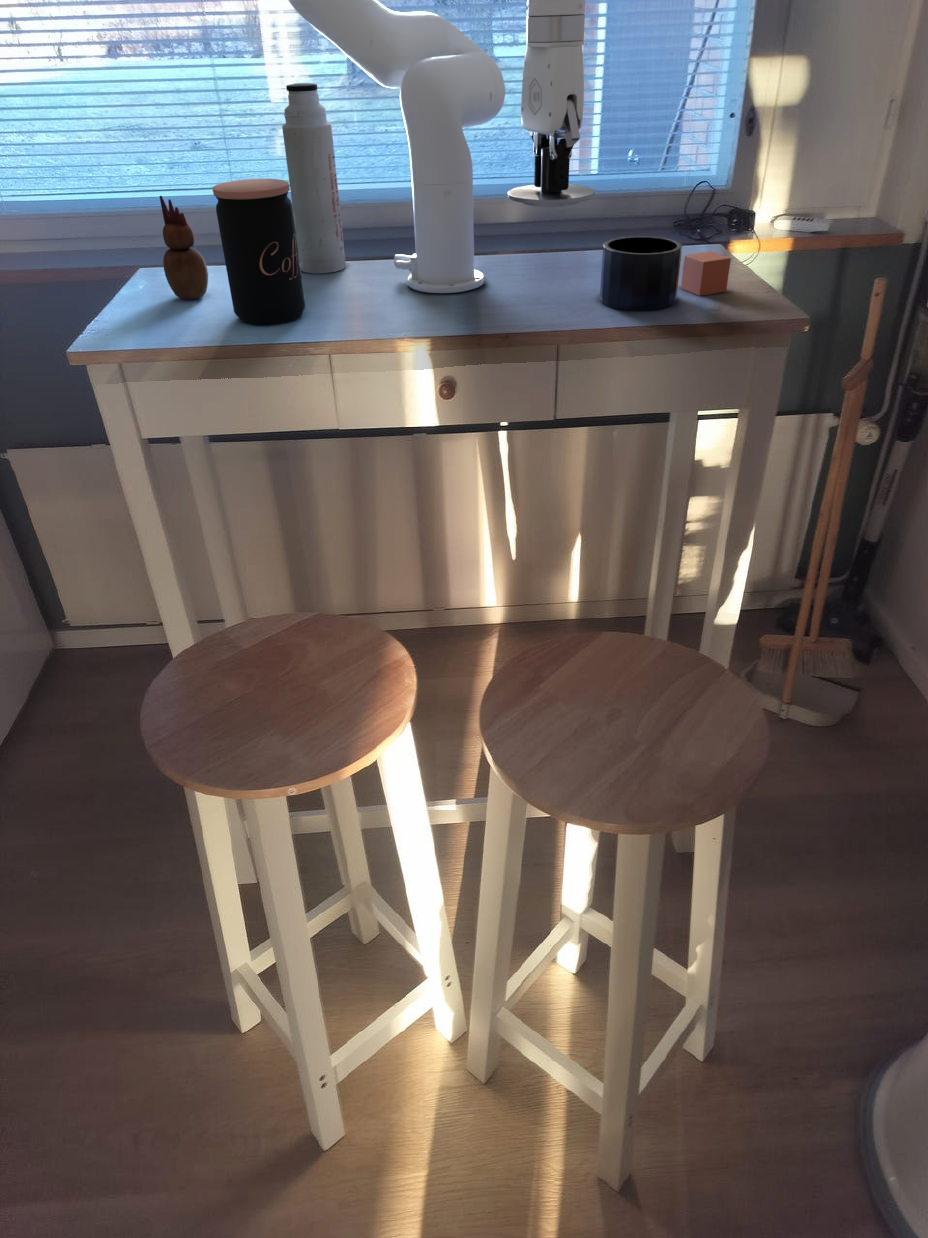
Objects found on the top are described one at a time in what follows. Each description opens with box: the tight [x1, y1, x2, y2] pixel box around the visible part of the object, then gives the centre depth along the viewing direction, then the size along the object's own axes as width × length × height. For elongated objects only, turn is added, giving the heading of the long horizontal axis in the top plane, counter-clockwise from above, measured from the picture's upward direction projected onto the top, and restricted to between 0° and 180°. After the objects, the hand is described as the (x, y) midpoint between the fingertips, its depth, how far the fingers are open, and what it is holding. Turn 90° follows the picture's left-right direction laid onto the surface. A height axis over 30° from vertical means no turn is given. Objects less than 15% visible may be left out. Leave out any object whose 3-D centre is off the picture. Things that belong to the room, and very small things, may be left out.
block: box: [680, 250, 732, 297], centre depth 136 cm, size 5×5×5 cm
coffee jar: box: [212, 178, 306, 326], centre depth 126 cm, size 11×11×18 cm
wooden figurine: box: [159, 195, 209, 301], centre depth 137 cm, size 7×6×15 cm
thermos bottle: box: [281, 82, 347, 274], centre depth 146 cm, size 8×8×28 cm
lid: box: [507, 147, 596, 208], centre depth 123 cm, size 12×12×7 cm
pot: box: [599, 235, 683, 312], centre depth 131 cm, size 11×12×8 cm
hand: (551, 186), depth 124 cm, fingers closed on lid, 3 cm apart
